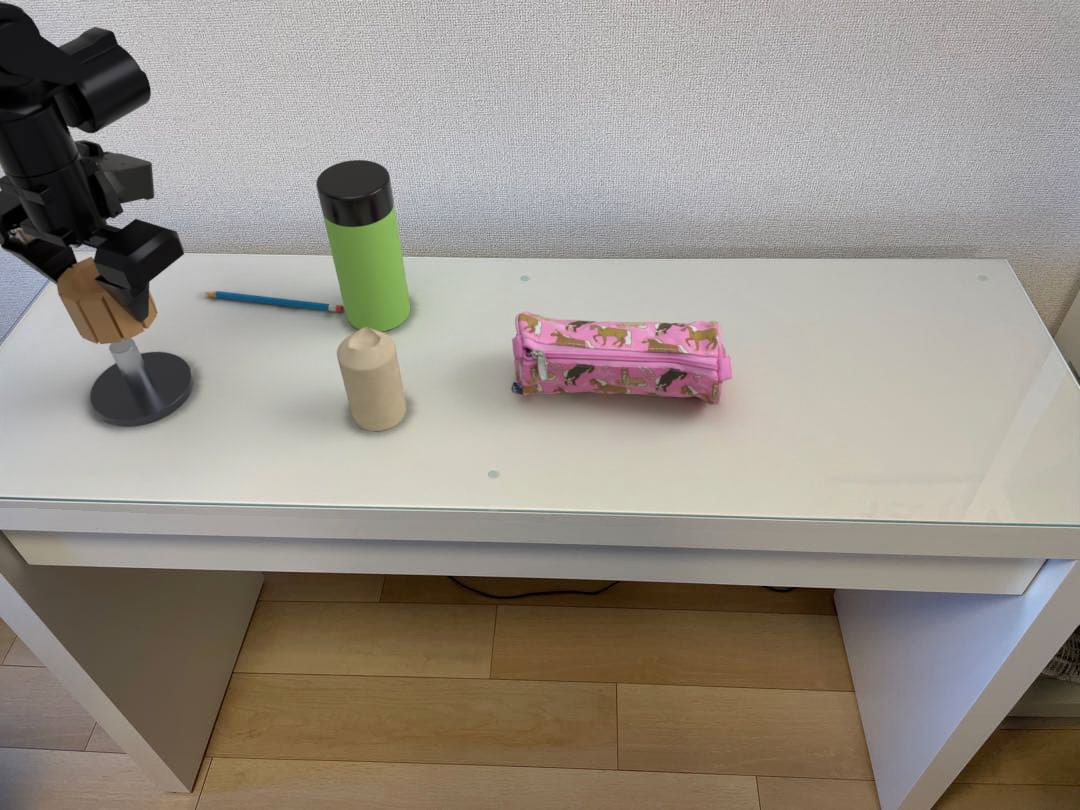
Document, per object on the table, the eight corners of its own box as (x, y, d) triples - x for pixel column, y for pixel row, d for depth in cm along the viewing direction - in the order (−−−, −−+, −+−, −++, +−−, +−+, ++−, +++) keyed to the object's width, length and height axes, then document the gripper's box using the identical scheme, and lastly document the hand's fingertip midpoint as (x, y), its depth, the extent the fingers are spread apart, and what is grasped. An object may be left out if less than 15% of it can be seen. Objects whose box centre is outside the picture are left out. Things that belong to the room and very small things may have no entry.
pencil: (341, 313, 97) (340, 308, 97) (202, 297, 99) (200, 292, 99) (344, 309, 98) (342, 304, 97) (205, 293, 100) (203, 288, 99)
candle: (359, 390, 89) (342, 317, 81) (411, 394, 88) (399, 320, 81) (346, 430, 85) (326, 356, 78) (400, 433, 84) (386, 359, 77)
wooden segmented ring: (84, 353, 78) (61, 311, 74) (75, 308, 82) (53, 266, 79) (162, 330, 80) (144, 287, 76) (150, 287, 84) (132, 245, 81)
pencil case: (509, 416, 86) (505, 351, 79) (519, 353, 92) (516, 288, 86) (724, 428, 84) (738, 363, 78) (719, 363, 91) (731, 298, 84)
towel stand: (99, 439, 84) (73, 393, 80) (88, 376, 91) (63, 330, 86) (202, 406, 87) (182, 360, 83) (184, 347, 94) (164, 301, 89)
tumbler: (333, 311, 98) (299, 177, 85) (387, 282, 101) (361, 149, 88) (371, 342, 94) (341, 207, 81) (425, 311, 97) (404, 177, 85)
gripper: (198, 136, 71) (247, 285, 82) (36, 93, 77) (103, 238, 88) (98, 205, 64) (166, 357, 75) (-72, 152, 70) (15, 301, 81)
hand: (113, 308), depth 80 cm, fingers closed on wooden segmented ring, 7 cm apart
